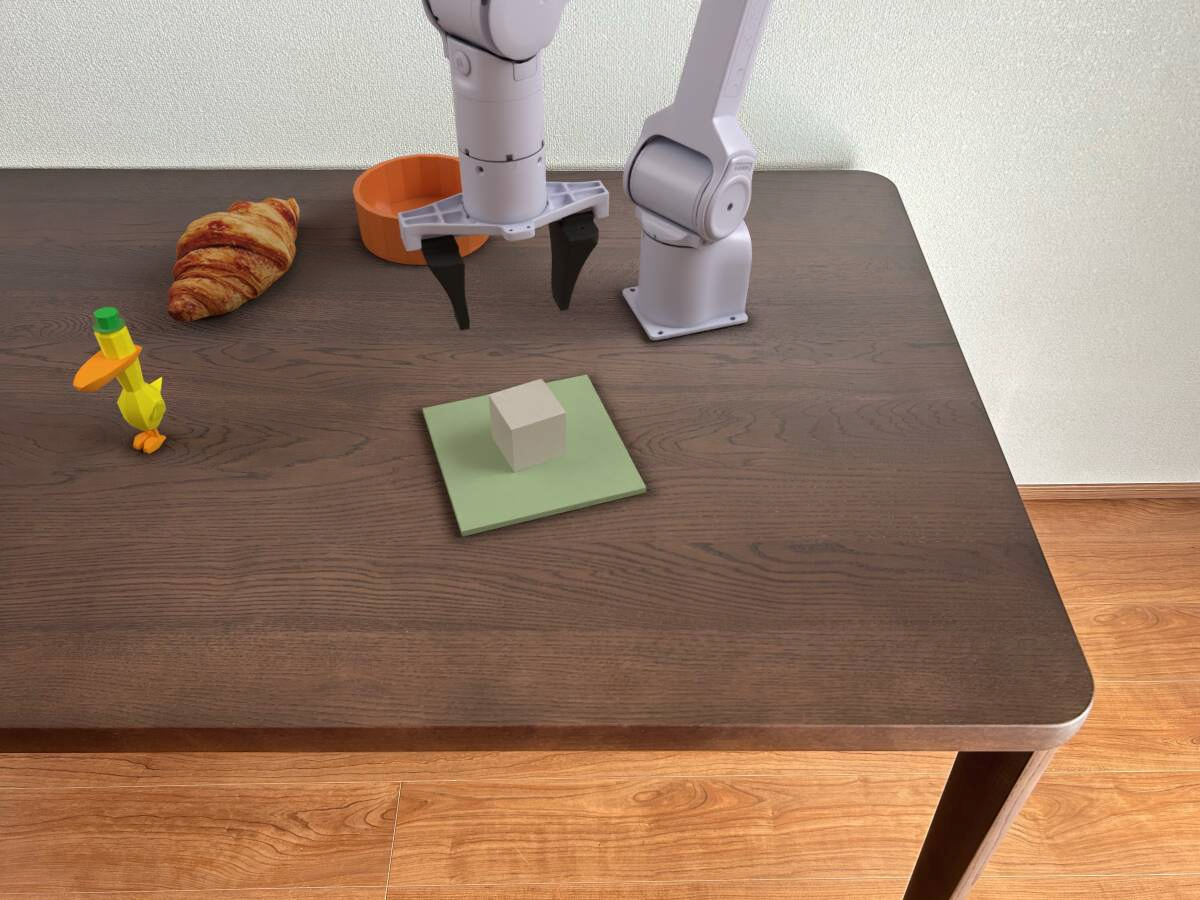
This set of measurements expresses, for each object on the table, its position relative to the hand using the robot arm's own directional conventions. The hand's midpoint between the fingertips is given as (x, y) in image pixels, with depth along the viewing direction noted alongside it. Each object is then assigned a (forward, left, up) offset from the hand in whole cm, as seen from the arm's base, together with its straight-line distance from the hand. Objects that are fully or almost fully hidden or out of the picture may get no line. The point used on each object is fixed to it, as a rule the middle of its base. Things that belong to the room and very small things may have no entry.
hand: (512, 312), depth 73 cm
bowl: (+2, -30, -9) cm, 31 cm away
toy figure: (+29, -5, -10) cm, 30 cm away
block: (+1, +6, -9) cm, 10 cm away
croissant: (+20, -27, -10) cm, 34 cm away
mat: (+1, +5, -9) cm, 11 cm away
